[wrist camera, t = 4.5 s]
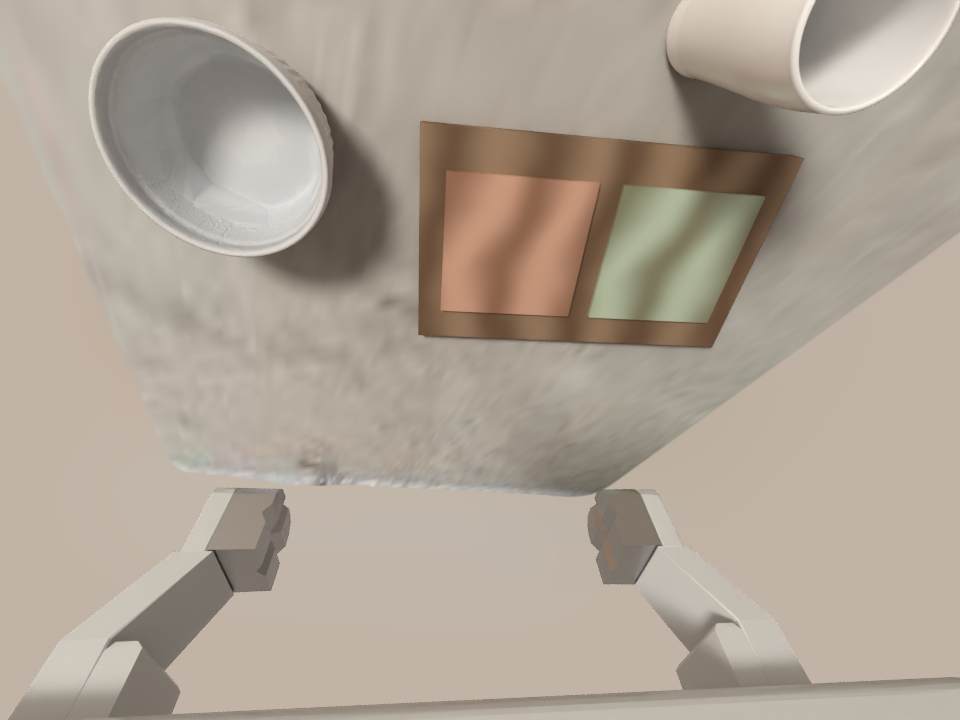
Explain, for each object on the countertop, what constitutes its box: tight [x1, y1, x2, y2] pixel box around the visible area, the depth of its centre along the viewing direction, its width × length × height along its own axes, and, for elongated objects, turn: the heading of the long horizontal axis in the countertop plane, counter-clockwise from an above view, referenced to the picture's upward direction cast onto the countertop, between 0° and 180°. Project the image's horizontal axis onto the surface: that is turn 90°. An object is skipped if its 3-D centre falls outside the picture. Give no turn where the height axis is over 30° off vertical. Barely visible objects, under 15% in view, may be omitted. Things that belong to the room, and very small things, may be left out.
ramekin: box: [88, 17, 334, 257], centre depth 29 cm, size 13×13×7 cm
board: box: [418, 121, 804, 347], centre depth 38 cm, size 30×18×1 cm, turn 85°
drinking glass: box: [666, 0, 960, 115], centre depth 24 cm, size 7×7×15 cm
